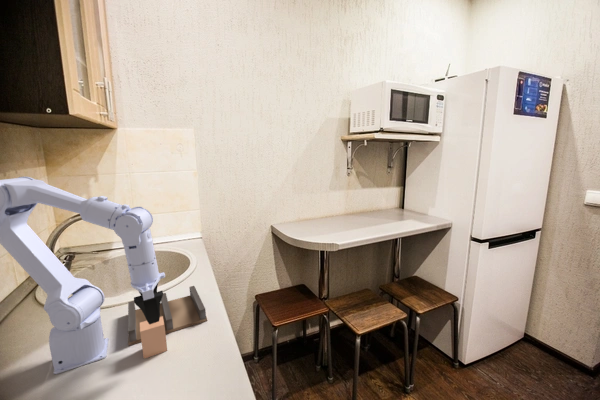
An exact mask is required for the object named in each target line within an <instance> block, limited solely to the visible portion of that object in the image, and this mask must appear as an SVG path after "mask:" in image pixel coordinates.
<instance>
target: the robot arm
mask: <svg viewBox="0 0 600 400" xmlns="http://www.w3.org/2000/svg"><path fill="white" fill-rule="evenodd" d="M38 204H41V205H44V206H50V207H52V208H56V209H60V210H65V211H68V212H72V213H75V214H78V215H80V218H81V220H82V221H83V222H86V223H89V224H93V225H96V226H100V227H101V228H106V229H107V230H112V231H113V232H114V234H116V235H117V236H118V237H119V238H120V240H121V242H122V245H123V249H124V255H125V258H126V259H125V260H126V263H127V267H128V274H129V277H130V286H131V288H133V289H135V291H138V293H139V294H140V295H138V296H137V295H136V296H134V297H133V301H134V303H135V306H137V308H138V309H141V310H142V312H143V313H144V316H145V318H146V320H147V322H148V323H149V324H153V323H156V322H159V319H160V303H161V299H162V297H163V293H164V292H163V290H159V291H158V285H159V282H160V281H161V280H162V279H164V278H166V274H165V272H159V266H158V261H157V257H156V252H155V251H156V250H155V246H154V242H153V241H154V240H153V236H152V231H151V227H152V225H153V223H154V217H153V215H152V213H151V211H149V210H148V209H146V208H144V207H143V206H135V207H132V208H131V207H130V204H127V203H124V204H120V203H118V202H114V201H111V200H109V199H108V196H105V195H101V196H100V195H99V196H92V197H89V198H85V197H82V196H80V195H77V194H74V193H72V192H69V191H66V190H64V189H61V188H59V187H55V186H53V185H50V184H48V183H46V181H44V180H43V179H35V178H34V177H30V176H19V177H15V178H14V177H12V178H5V179H0V245H1V246H2V247H3V249H5V251H7V253H8V254H10V256H11V257H12V258H13V259H14V260H15V261H16V263H18V265H20V266H21V268H22V269H23V270H24V271H25V272H26V273H27V274H28V275H29V277H30V278H32V279H33V281H34V282H35V283H36V284H37V285H38V286H39V287H40V288H41V289H42V290H43V292H44V293H46V299H45V302H44V306H43V310H44V311H45V312H46V313H47V315H48V317H49V318H48V319H49V321H50V323H51V325H52V326H53V327H52V328H51V329H50V332H49V335H48V336H49V337H48V339H49V340H48V342H49V343H48V345H49V351H50V355H51V362H52V366H53V375H58V374H60V373H64V372H67V371H70V370H72V369H73V370H74V369H76V368H78V367H82V366H85V365H88V364H89V365H90V364H92V363H94V362H97V361H100V360H103V359H105V358H107V354H108V345H109V337H106V338H105V336H104V330H103V324H102V318H101V316H102V315H101V311H102V310H101V307H102V305H103V304H104V302H105V298H106V297H105V294H104V291H102V289H101V288H100V287H98V286H96V285H94V284H92V283H91V282H90V281H89V280H88V278H87V279H86V278H79V277H75V276H74V275H73V274H72V272H71V271H70V270H68V268H67V266H65V265H64V264H63V263H62V261H60V259H59V258H58V257H57V256H56V254H54V252H52V250H51V249H50V248H49V247H48V246H47V245H46V244H45V242H44V241H43V240H42V239H41V238H40V237H39V235H37V233H36V232H35V231H34V230H33V229H32V228H31V226H30V225H28V220H29V216H30V215H31V214H32V213H33V211H34V210H35V208H36V207H37V205H38Z"/></svg>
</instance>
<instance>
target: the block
mask: <svg viewBox="0 0 600 400" xmlns="http://www.w3.org/2000/svg"><path fill="white" fill-rule="evenodd" d="M140 334H141V342H140V343H141V348H142V355H143V359H148V358H149V357H153V356H156V355H159V354H161V353H165V352H167V351H168V346H167V336H166V335H167V334H165V326H164V320H163V316H161V317H160V319H159V322H156V323H153V324H149V323H148V322H147V321H144V322H140Z"/></svg>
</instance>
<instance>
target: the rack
mask: <svg viewBox="0 0 600 400" xmlns="http://www.w3.org/2000/svg"><path fill="white" fill-rule="evenodd" d="M127 313H128V314H127V332H128V333H127V334H128V335H127V336H128V338H127V339H128V341H127V344H128V346H133V345H136V344H139V343H142V342H141V334H140V322H144V321H147V320H146V318H145V316H144V313H143V312H142V310H141V309H140V308H138V309H136V304H135V303H134V300H132V301H128V306H127ZM206 314H207V313H206V307H205V305H204V303H203V301H202V299H201V297H200V295H199V293H198V291H197V288H196V287H195V285H192V286H189V295H186V296H183V297H178V298H175V299H171V300H169V299H168V295H167V292H163V297H162V299H161V303H160V317H161V316H163V320H164V326H165V334H166V335H167V334H170V333H173V332H176V331H180V330H183V329H186V328H189V327H192V326H196V325H199V324H202V323H206V322H208V318H207V315H206Z"/></svg>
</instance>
